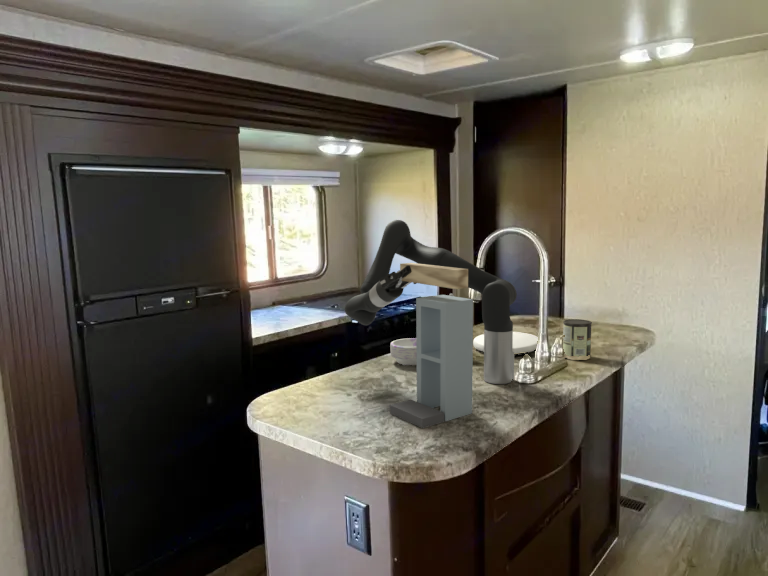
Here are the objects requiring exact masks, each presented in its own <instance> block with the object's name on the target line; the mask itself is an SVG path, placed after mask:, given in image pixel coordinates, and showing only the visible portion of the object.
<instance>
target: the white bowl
mask: <svg viewBox="0 0 768 576" xmlns="http://www.w3.org/2000/svg"><path fill="white" fill-rule="evenodd" d="M389 347H390V356H391V357H392V358H395V361H396V362H397V363H398V364H400V365H401V364H402V366H408V365H412V366H417V350H416V337H415V338H414V337H413V338H412V337H411V338H410V337H409V338H408V337H407V338H400V339H396V340H393V341H391V342H390V346H389Z"/></svg>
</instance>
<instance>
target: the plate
mask: <svg viewBox="0 0 768 576" xmlns="http://www.w3.org/2000/svg"><path fill="white" fill-rule="evenodd" d="M538 337H539V336H537V335H535V334H531V333H526V332H520V331H513V347H512V351H513V352H514V353H520V352H528V353H531V352H535V351H536V350H535V348H536V345H537V341H538ZM473 338H474V339H473V349H474V348H475V349H476V350H478V351H480V352H483V353H484V333H482V334H479V335H477V336H476V337H473ZM534 350H535V351H534Z"/></svg>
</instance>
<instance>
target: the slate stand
mask: <svg viewBox="0 0 768 576" xmlns="http://www.w3.org/2000/svg"><path fill="white" fill-rule="evenodd" d="M415 299H416V300H415V303H416V306H415V307H416V309H415V310H416V311H415V312H416V315H415V316H416V318H415V319H416V320H415V321H416V326H415V327H416V328H415V329H416V332H415V334H416V337H415V338H416V350H417V365H416V402H419V403H421V404H424V405H426V406H429V407H431V408H433V409H436V408H438V407H439V408H440V409H439V411H441V412H443V413H444V422H449V421H451V420H454V419H457V418H462V417H465V416H468V415H471V414H473V370H474V369H473V364H474V363H473V357H474V355H473V354H474V352H473V351H474V345H473V340H474V339H473V338H474V334H473V333H474V331H473V330H474V299H473V298H466V297H461V296H455V295H454V296H449V295H448V294H447V295H446V294H438V295H437V294H436V295H429V296H422V297H416V298H415Z"/></svg>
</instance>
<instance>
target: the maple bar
mask: <svg viewBox="0 0 768 576" xmlns="http://www.w3.org/2000/svg"><path fill="white" fill-rule="evenodd" d="M399 264H400V265H399V270H402V269H403V268H405V267H406V266H407V265H409V266H410V267H411V270H412V272H411V273H410V274H408V275H407V276H406V277H404V278H403V279H402V280H401V281H407V282H412V284H413V283H416V284H421V285H427V286H434V287H440V288H447V289H453V290H462V289H468V269H462V268H453V267H444V266H435V265H426V264H418V263H416V262H403V263H402V262H401V263H399Z"/></svg>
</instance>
